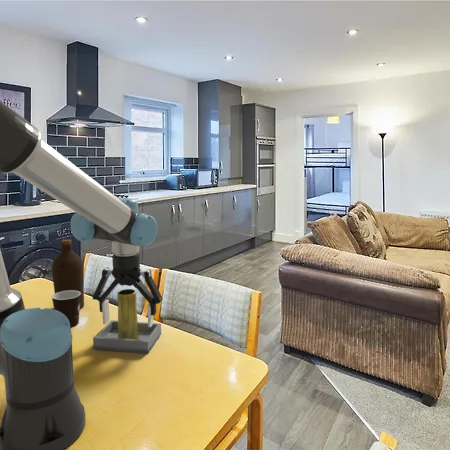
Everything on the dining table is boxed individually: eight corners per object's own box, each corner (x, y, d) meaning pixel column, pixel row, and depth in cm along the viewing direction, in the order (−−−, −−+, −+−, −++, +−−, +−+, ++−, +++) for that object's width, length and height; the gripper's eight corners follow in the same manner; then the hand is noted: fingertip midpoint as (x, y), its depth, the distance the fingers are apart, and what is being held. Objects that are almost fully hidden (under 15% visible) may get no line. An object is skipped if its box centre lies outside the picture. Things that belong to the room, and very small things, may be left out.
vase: (113, 341, 107) (111, 294, 105) (125, 332, 113) (123, 287, 111) (132, 344, 105) (130, 296, 103) (143, 335, 111) (141, 289, 109)
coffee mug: (72, 331, 116) (70, 300, 114) (47, 328, 117) (45, 298, 116) (92, 316, 127) (91, 288, 125) (69, 314, 129) (68, 286, 127)
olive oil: (89, 309, 133) (85, 241, 129) (57, 315, 127) (52, 244, 123) (82, 300, 142) (78, 236, 138) (52, 305, 136) (47, 239, 132)
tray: (148, 353, 102) (148, 341, 102) (93, 349, 104) (93, 337, 104) (161, 334, 114) (161, 323, 114) (111, 330, 116) (111, 320, 116)
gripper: (172, 251, 107) (173, 321, 110) (90, 248, 110) (94, 315, 114) (164, 258, 100) (166, 332, 103) (77, 254, 103) (81, 326, 106)
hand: (128, 323), depth 108 cm, fingers open, 13 cm apart
